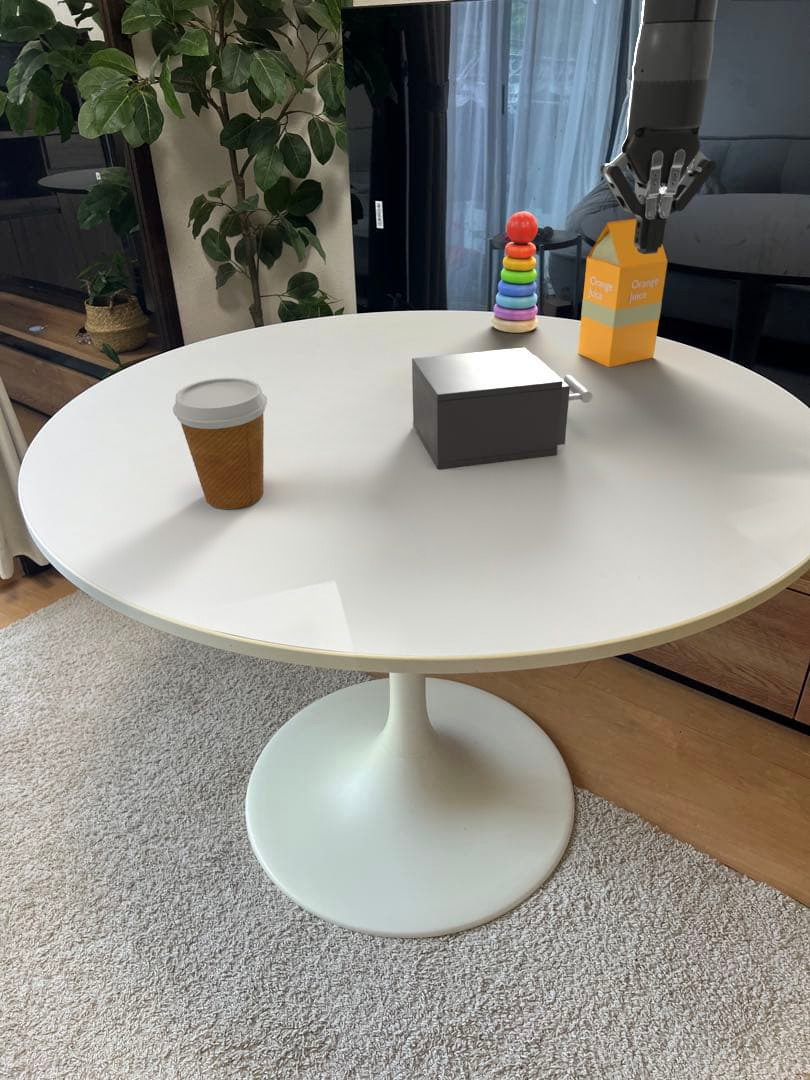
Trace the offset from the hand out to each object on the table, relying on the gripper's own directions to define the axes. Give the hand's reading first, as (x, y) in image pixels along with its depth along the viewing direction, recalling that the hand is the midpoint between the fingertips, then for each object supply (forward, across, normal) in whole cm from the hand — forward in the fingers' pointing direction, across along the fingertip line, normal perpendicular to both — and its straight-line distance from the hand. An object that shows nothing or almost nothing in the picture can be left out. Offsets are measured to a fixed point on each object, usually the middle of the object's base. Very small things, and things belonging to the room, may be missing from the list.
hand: (647, 252), depth 89 cm
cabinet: (+21, -19, 0) cm, 28 cm away
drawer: (+20, -15, 0) cm, 25 cm away
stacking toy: (+21, 0, +43) cm, 48 cm away
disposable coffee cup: (+21, -49, -7) cm, 54 cm away
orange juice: (+21, +10, +25) cm, 34 cm away
